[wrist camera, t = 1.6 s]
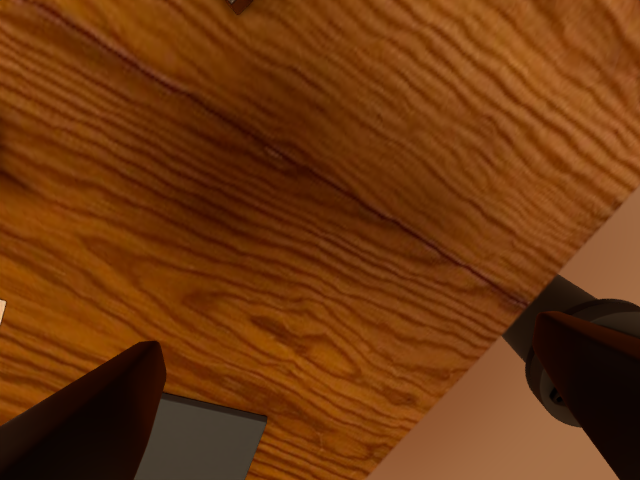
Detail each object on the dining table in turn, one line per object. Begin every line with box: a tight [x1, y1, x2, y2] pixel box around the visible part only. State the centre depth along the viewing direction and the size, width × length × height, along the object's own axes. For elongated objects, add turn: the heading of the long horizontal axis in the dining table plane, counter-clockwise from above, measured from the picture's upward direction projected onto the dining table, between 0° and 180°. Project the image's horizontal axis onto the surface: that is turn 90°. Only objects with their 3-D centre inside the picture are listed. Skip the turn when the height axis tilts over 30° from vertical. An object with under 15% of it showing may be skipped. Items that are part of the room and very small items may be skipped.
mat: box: [134, 393, 267, 480], centre depth 27 cm, size 10×10×1 cm
